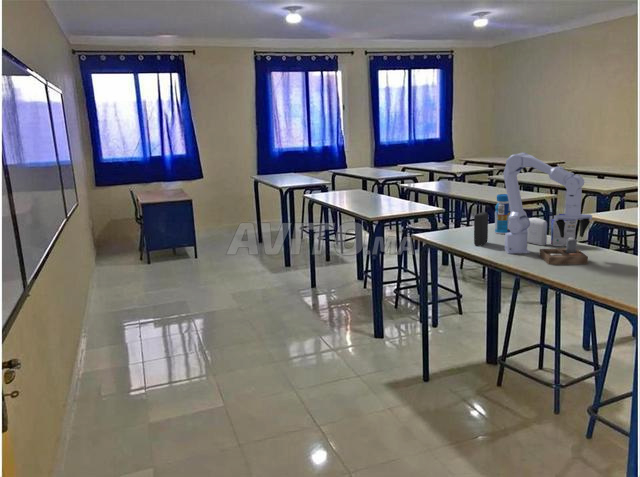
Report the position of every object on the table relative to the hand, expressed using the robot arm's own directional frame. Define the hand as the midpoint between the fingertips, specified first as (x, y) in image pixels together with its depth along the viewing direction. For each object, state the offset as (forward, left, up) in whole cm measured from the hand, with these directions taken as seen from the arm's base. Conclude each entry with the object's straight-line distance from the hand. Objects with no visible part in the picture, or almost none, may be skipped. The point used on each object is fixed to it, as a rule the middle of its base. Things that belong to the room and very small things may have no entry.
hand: (571, 236), depth 220 cm
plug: (0, 0, -9) cm, 9 cm away
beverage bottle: (-17, +52, -10) cm, 56 cm away
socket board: (-4, -2, -9) cm, 10 cm away
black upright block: (-32, +29, -10) cm, 45 cm away
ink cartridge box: (+4, +23, -10) cm, 26 cm away
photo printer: (-7, +27, -10) cm, 30 cm away
